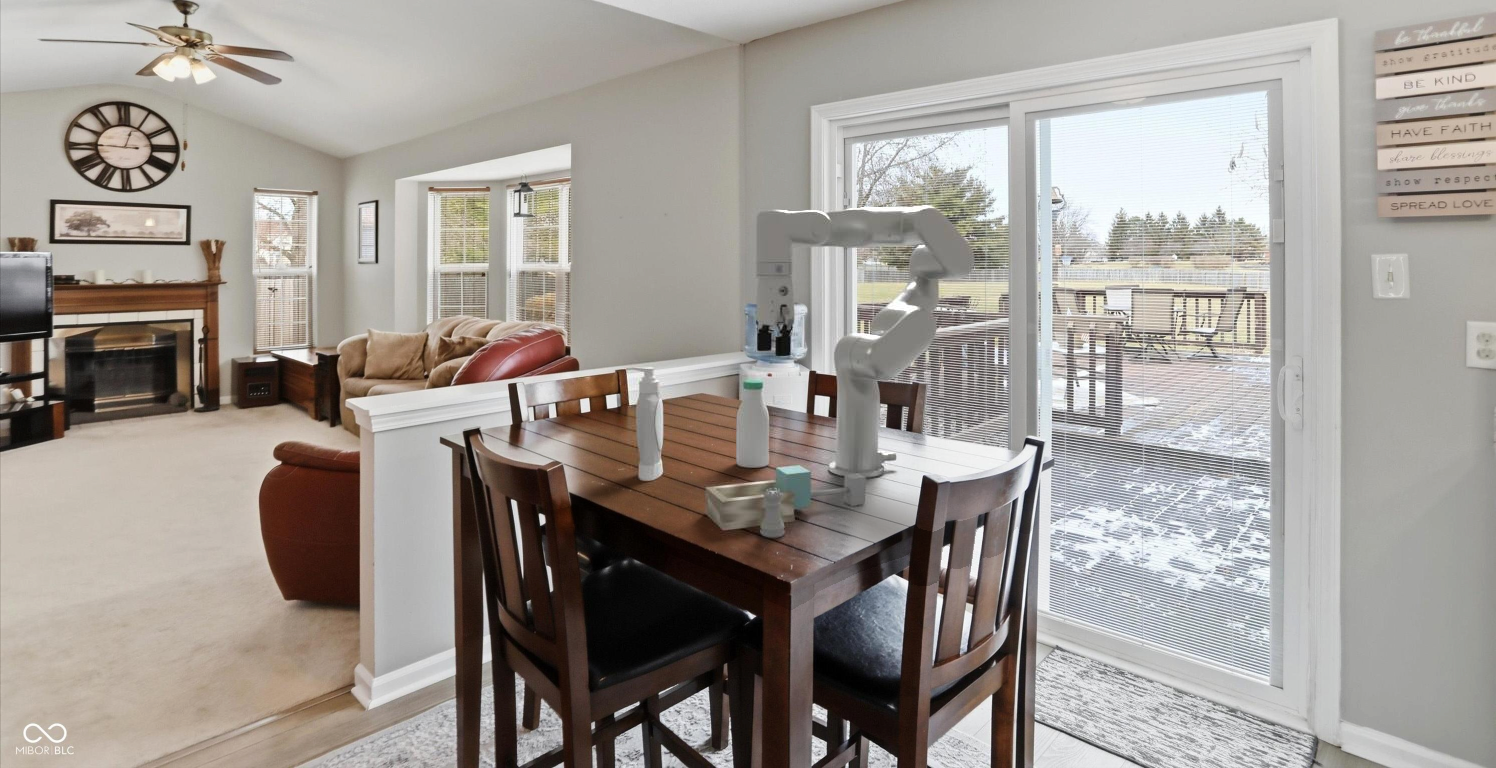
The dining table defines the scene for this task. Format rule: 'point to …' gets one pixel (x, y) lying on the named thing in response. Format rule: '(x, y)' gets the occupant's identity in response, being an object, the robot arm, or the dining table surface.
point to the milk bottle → (752, 427)
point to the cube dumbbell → (800, 485)
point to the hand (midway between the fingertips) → (773, 353)
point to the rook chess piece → (772, 515)
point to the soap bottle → (649, 425)
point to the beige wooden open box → (744, 504)
